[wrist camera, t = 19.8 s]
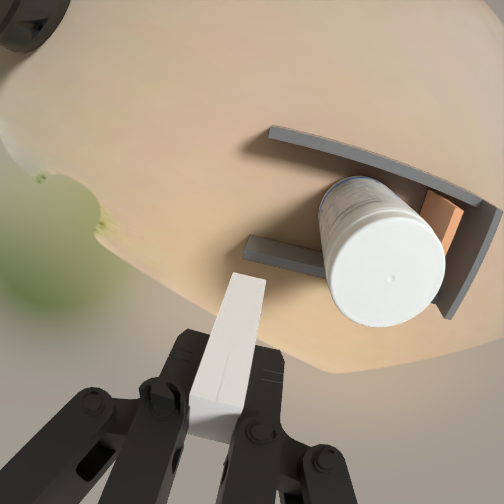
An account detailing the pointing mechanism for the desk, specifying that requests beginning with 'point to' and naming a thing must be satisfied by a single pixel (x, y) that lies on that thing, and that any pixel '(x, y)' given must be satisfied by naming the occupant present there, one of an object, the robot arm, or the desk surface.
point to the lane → (475, 208)
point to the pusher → (441, 217)
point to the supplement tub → (377, 253)
